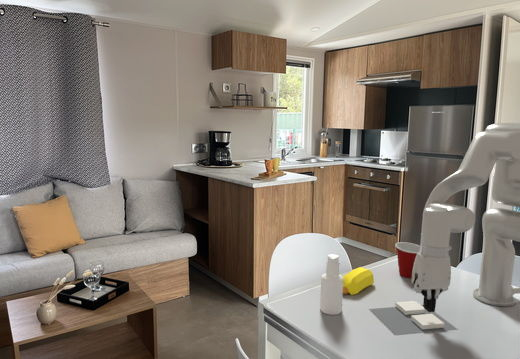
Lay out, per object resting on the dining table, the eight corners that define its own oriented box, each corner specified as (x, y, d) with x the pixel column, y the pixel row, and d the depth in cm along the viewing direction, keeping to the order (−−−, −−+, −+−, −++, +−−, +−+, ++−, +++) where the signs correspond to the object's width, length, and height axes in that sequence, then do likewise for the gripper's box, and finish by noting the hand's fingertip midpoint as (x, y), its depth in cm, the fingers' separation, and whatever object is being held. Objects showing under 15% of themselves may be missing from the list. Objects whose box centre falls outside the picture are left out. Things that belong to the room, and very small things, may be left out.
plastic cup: (414, 283, 151) (416, 252, 149) (388, 274, 159) (390, 245, 157) (427, 276, 158) (429, 246, 157) (401, 268, 166) (403, 240, 165)
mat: (424, 305, 133) (424, 304, 133) (457, 330, 117) (457, 329, 117) (368, 310, 129) (368, 309, 129) (394, 336, 113) (394, 335, 113)
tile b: (431, 313, 123) (411, 315, 122) (444, 323, 117) (422, 325, 116) (431, 318, 123) (410, 320, 122) (444, 328, 117) (422, 330, 116)
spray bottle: (342, 307, 131) (345, 253, 128) (340, 316, 124) (343, 260, 122) (321, 304, 133) (323, 251, 130) (318, 313, 126) (320, 258, 123)
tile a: (415, 300, 132) (395, 302, 130) (426, 309, 126) (405, 310, 125) (414, 305, 132) (395, 306, 131) (425, 313, 126) (405, 315, 125)
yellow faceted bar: (333, 293, 142) (353, 299, 137) (334, 274, 141) (354, 281, 136) (358, 278, 155) (377, 284, 150) (359, 262, 154) (378, 267, 149)
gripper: (448, 245, 121) (443, 302, 124) (403, 247, 119) (399, 306, 121) (465, 253, 114) (459, 314, 117) (418, 255, 111) (413, 318, 114)
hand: (429, 309), depth 119 cm, fingers closed
